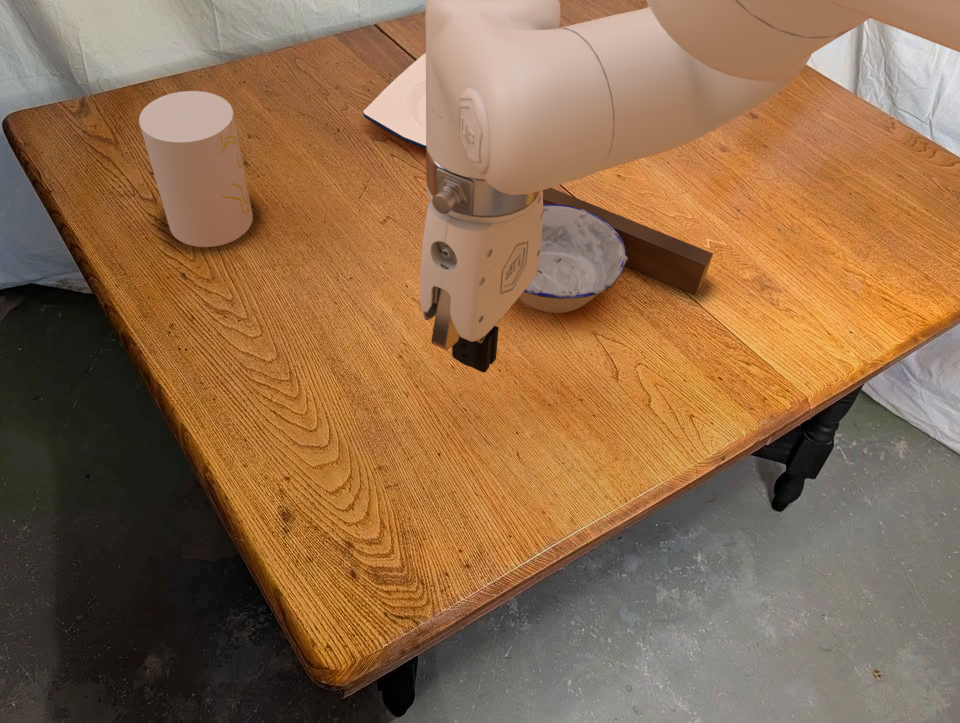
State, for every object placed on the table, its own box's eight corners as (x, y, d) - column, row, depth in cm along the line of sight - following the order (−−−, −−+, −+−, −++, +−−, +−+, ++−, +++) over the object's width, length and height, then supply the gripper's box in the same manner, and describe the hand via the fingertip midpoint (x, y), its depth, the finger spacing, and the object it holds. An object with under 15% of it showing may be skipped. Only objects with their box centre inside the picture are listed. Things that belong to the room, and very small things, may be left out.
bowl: (601, 236, 87) (609, 198, 83) (633, 327, 79) (643, 290, 75) (476, 242, 85) (478, 204, 81) (495, 336, 77) (498, 299, 73)
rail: (702, 283, 83) (713, 253, 80) (695, 295, 82) (705, 265, 79) (491, 195, 90) (494, 164, 87) (482, 205, 89) (484, 173, 86)
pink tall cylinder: (256, 240, 84) (236, 136, 75) (170, 252, 82) (139, 147, 73) (248, 190, 89) (229, 87, 80) (167, 199, 87) (138, 95, 78)
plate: (584, 100, 103) (587, 80, 101) (514, 191, 91) (517, 170, 89) (436, 55, 108) (436, 35, 106) (351, 135, 96) (349, 114, 94)
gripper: (473, 254, 49) (464, 443, 63) (587, 134, 58) (557, 322, 72) (368, 209, 52) (381, 400, 65) (493, 100, 60) (481, 289, 74)
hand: (473, 359), depth 68 cm, fingers closed
